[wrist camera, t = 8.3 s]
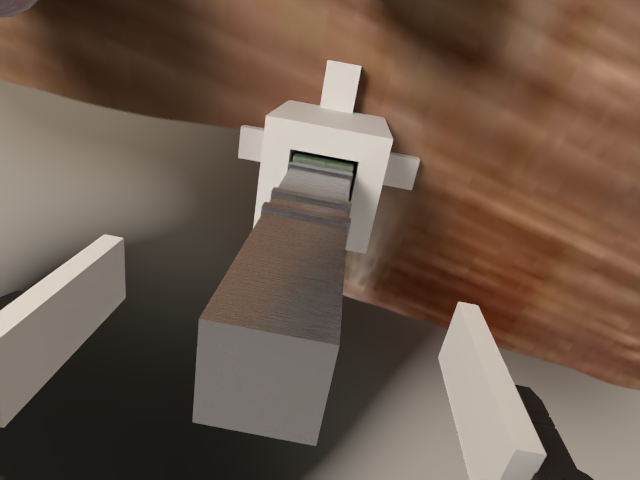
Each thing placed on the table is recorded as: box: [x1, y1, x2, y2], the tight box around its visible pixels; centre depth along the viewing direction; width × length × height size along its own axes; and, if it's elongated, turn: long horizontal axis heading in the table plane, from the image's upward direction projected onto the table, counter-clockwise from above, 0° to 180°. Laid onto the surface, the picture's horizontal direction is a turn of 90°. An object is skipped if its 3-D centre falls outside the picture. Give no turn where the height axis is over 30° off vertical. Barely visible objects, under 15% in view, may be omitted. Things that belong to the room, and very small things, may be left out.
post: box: [193, 151, 353, 446], centre depth 24 cm, size 4×4×24 cm
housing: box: [238, 60, 420, 254], centre depth 36 cm, size 17×17×11 cm
